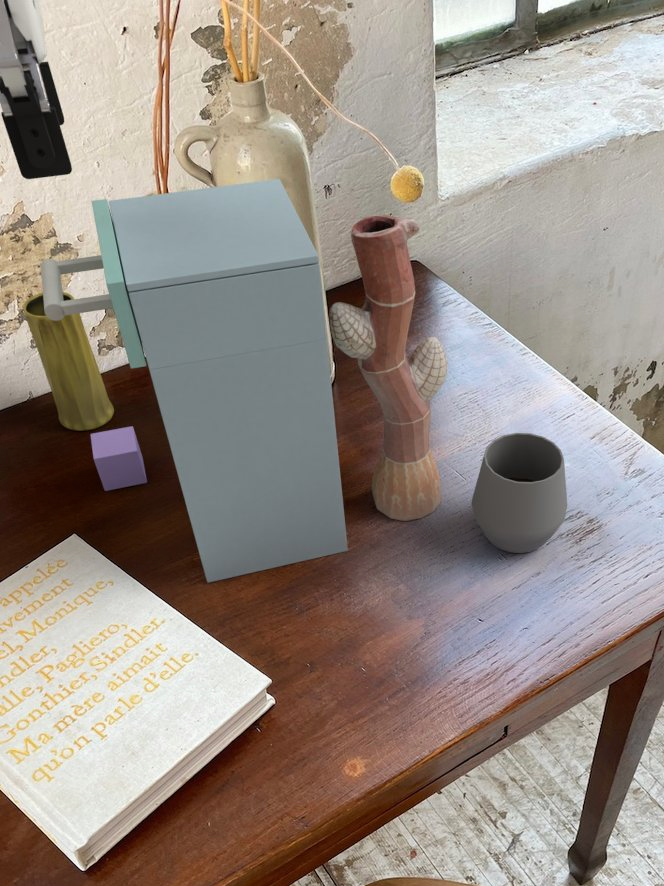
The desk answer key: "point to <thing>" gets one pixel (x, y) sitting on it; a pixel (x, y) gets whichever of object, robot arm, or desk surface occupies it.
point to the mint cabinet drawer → (114, 281)
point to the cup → (520, 492)
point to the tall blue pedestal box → (238, 369)
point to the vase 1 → (69, 367)
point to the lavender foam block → (118, 458)
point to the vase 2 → (394, 366)
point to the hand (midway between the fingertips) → (45, 148)
